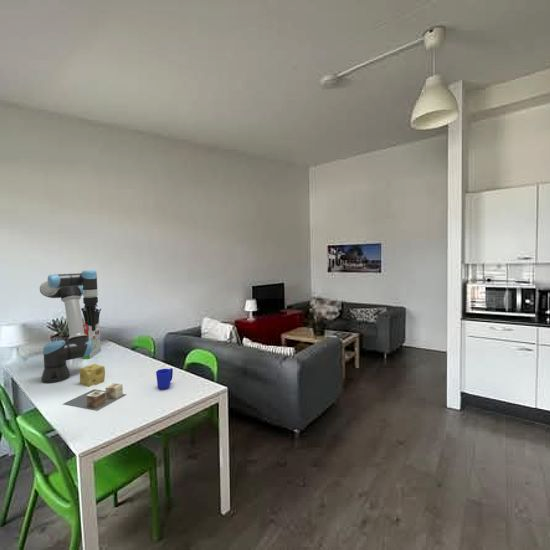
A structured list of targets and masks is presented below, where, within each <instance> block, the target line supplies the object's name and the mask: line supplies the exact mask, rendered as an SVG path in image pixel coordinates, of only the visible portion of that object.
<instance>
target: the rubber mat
mask: <svg viewBox="0 0 550 550" xmlns="http://www.w3.org/2000/svg"><path fill="white" fill-rule="evenodd" d="M94 391H102V392H105V402H106V403H105V404H103V405H101V406H99V407H97V408H92V407H87V395H88V394H90V393H92V392H94ZM127 395H128V394H126V393H123V395H121V396H120V397H118V398H117V399H107V398H106V390H101V389H95V388H94V389H91V390H89V391H87V392H85V393H82V394H80V395H78V396H77V397H74V398H72V399H70V400H68V401H65V402H64V403H62V405H64V406H69V407H74V408H80V409H85V410H89V411H96V412H98V411H100V410H101V409H103V408H105V407H107V406H109V405H111V404H113V403H114V402H116V401H118V400H120V399H122V398H124V397H126V396H127Z"/></svg>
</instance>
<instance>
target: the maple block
mask: <svg viewBox="0 0 550 550" xmlns="http://www.w3.org/2000/svg"><path fill="white" fill-rule="evenodd" d="M104 390H105V391H106V398H107V399H117V398H118V397H120V396H121V395H123V394H124V393H123V392H124V389H123V383H114V382H113V383H110V384H109V385H108V386H106V387H105V389H104Z"/></svg>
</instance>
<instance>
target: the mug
mask: <svg viewBox="0 0 550 550" xmlns="http://www.w3.org/2000/svg"><path fill="white" fill-rule="evenodd" d="M173 371H174V369H173V368H172V367H171V368H162V369H158V370H156V371H155V376H156V384H157V388H158V389H159V390H166V389H169V388H170V386H171V381H172V380H173V375H174V374H173Z"/></svg>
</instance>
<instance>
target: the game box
mask: <svg viewBox="0 0 550 550" xmlns="http://www.w3.org/2000/svg"><path fill="white" fill-rule="evenodd" d="M100 327H101V326H100V321H99V322H98V324H96V325H95V336H93V337H89V330H88V325H87V324H85V321H84V322H83V328H84V334H86V335H87V336H88V338H91V341H92V350H91V353H90V355H88V356H85V357H81V358H82V360H90V359H91V358H93V357H94V356H96V355H97V354H98V353H99V352H101V351H102V348H101V346H102V345H101V328H100Z"/></svg>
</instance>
